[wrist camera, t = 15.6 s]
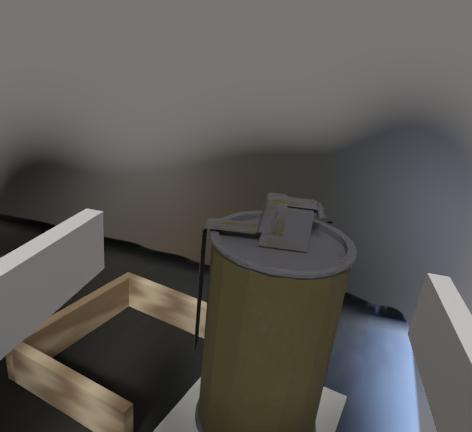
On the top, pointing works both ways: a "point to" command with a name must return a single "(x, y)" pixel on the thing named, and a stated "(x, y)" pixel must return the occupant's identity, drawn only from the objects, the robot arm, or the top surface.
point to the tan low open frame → (76, 327)
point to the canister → (269, 316)
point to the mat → (183, 414)
